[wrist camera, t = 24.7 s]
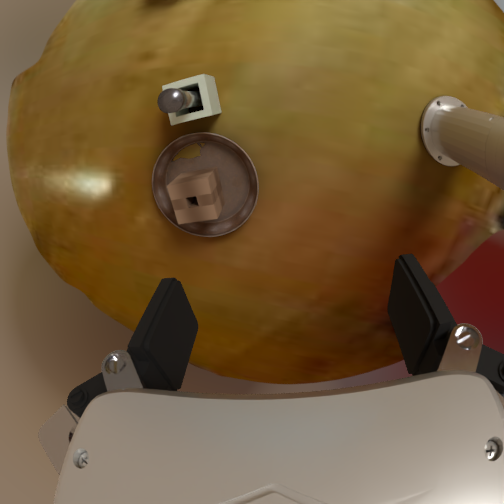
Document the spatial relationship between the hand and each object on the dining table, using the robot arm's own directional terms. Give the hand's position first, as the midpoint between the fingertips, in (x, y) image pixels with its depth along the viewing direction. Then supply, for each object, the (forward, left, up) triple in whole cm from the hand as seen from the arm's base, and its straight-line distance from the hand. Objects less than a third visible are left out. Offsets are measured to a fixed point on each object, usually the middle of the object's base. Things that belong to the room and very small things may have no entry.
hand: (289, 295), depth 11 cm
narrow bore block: (+13, +4, -31) cm, 34 cm away
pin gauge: (+11, -10, -33) cm, 36 cm away
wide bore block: (+11, -10, -33) cm, 36 cm away
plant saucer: (+13, +4, -34) cm, 37 cm away
